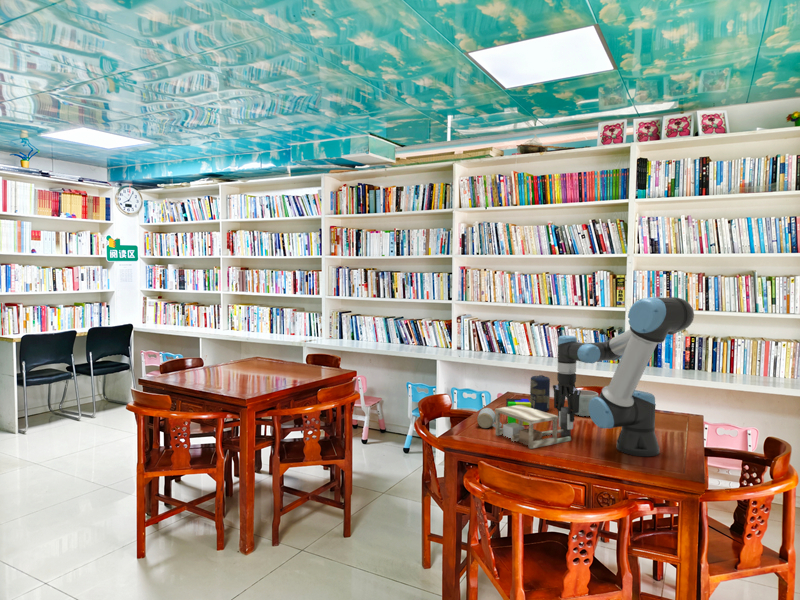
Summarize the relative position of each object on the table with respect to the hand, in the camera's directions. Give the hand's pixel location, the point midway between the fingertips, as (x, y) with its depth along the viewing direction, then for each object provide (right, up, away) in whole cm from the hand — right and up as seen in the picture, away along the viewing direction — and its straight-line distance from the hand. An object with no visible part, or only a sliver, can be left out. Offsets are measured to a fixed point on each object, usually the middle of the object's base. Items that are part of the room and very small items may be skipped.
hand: (565, 427), depth 224 cm
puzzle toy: (-15, -3, +21) cm, 26 cm away
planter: (+20, -3, +36) cm, 41 cm away
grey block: (-22, -4, -1) cm, 23 cm away
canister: (+1, -2, +44) cm, 44 cm away
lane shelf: (-15, -4, -3) cm, 15 cm away
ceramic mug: (-30, -3, +14) cm, 33 cm away
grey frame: (-9, -4, -5) cm, 11 cm away
